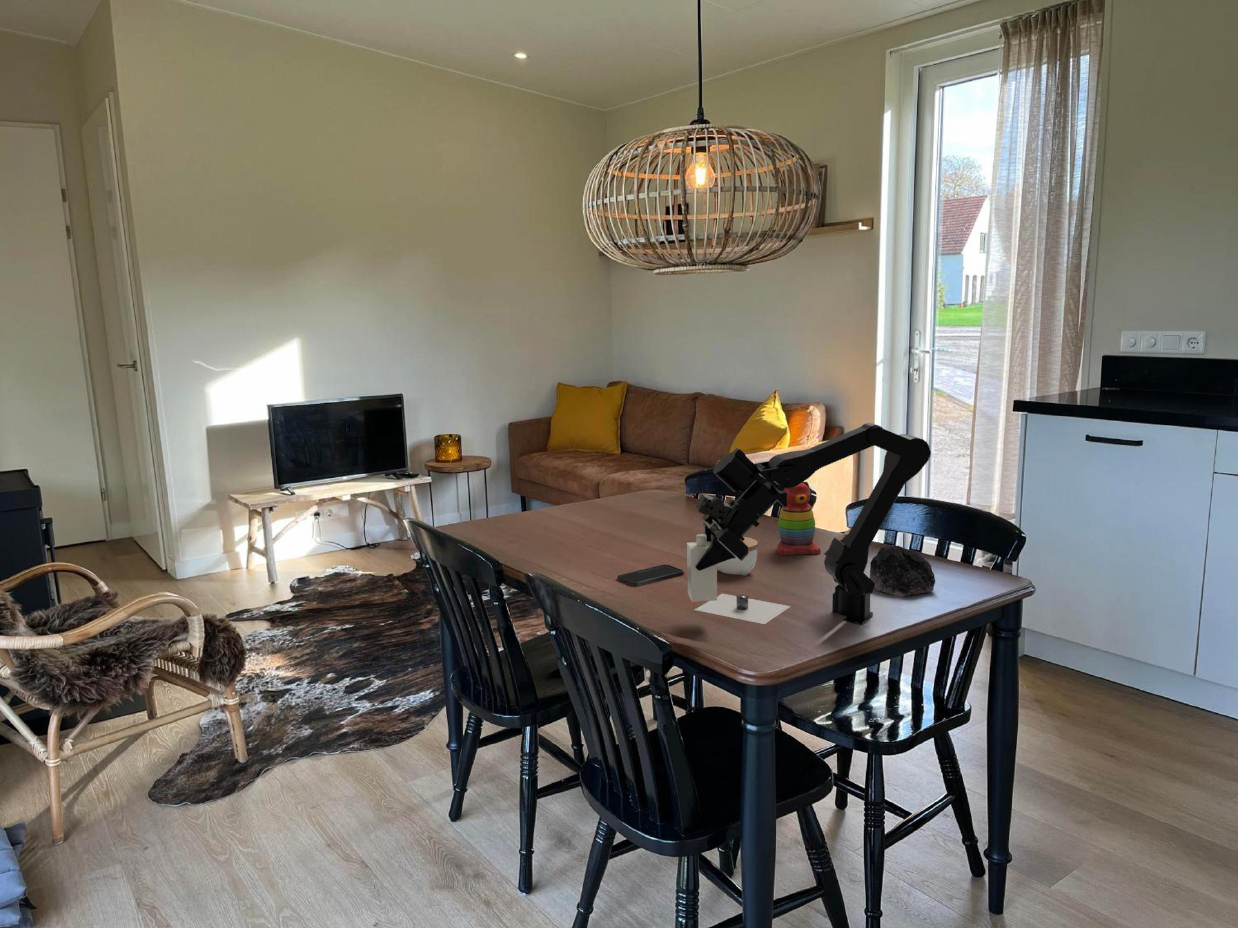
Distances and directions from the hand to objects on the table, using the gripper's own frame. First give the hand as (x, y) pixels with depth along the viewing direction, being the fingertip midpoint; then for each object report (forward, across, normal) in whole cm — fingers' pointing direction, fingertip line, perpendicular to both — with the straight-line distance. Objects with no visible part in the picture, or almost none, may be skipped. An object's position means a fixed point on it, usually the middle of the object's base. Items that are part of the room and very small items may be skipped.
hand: (694, 565), depth 169 cm
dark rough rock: (-25, -17, +44) cm, 53 cm away
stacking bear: (-15, -50, +34) cm, 63 cm away
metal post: (+1, -6, +16) cm, 17 cm away
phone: (+13, -34, +6) cm, 37 cm away
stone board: (+1, -6, +17) cm, 18 cm away
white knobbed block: (+4, 0, +6) cm, 7 cm away
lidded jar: (-1, -33, +20) cm, 38 cm away
